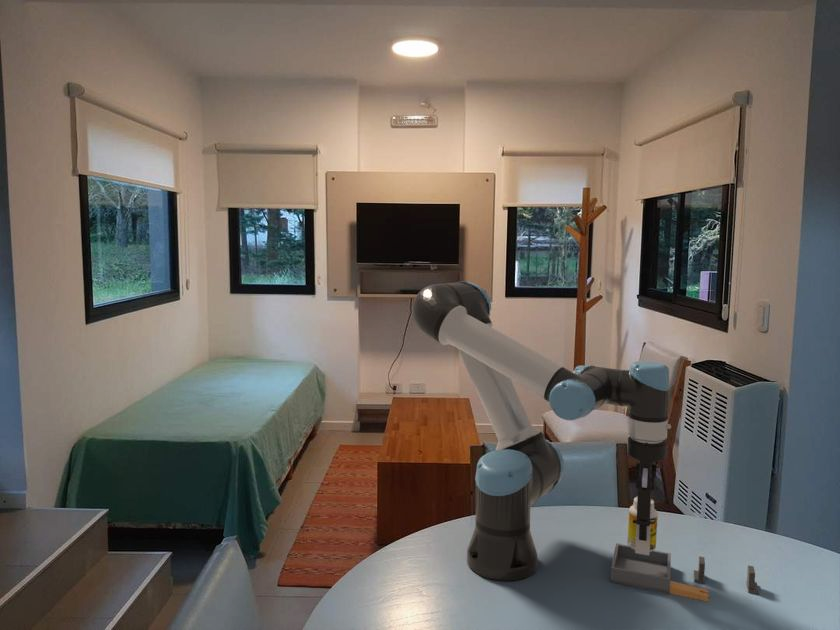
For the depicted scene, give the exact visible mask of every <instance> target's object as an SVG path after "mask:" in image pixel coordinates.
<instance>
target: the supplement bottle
mask: <svg viewBox="0 0 840 630" xmlns="http://www.w3.org/2000/svg"><path fill="white" fill-rule="evenodd" d="M637 497H638V496H636V497H635V496H634V498H633V504H632V505H631V506H630V507H629V508H628V509H629V510H628V511H629V512H628V527H627V530H628V531H627V544H628V546H630V547H631V548H632V549H634V550H635V543H636V523H633V520H636V519H637ZM652 499H653V498H652ZM652 499H651V509H650V521H651V528H650V552H651V551H653V550H655V549H656V547H657V546H656V545H657V530H658V529H657V528H658V517H659V516H658V510H657V509H656V508H655V509H654V505H655V500H654V499H653V500H652Z"/></svg>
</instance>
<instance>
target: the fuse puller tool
mask: <svg viewBox="0 0 840 630" xmlns="http://www.w3.org/2000/svg"><path fill="white" fill-rule="evenodd" d="M670 594H672V595H675V596H676V595H677V596H681V597H687V598H691V599H695V600H701V601H706V602H708V601H709V590H708V589H704V588H700V587H697V586H694V585H688V584H684V583H680V582H676V581H673V580H670Z"/></svg>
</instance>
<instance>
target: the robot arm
mask: <svg viewBox="0 0 840 630" xmlns="http://www.w3.org/2000/svg"><path fill="white" fill-rule="evenodd" d="M411 311H412V317H413V321H414V323H415V324H416V327H418V328H419V329H420V330H421V331H422V332H423V333H424V334H425V335H426V336H428V337H430V338H431V339H433V340H434V341H436V342H437V343H439V344H441V345H443V346H447V345H450V346H452V347H455V348H456V349H457V350H458V352H459V355H460V357H461V359H462V362H463V364H464V366H465V368H466V371H467V373H468V375H469V378H470V380H471V382H472V384H473V386H474V388H475V389H474V390H475V391H476V393H477V395H478V398H479V399H480V403H481V404H482V406H483V410H484V411H485V413H486V416H487V418H488V419H489V423H490V425H491V427H492V429H493V432H494V434H495V436H496V438H497V441H498V442H497V444H496V447H495V450H492V451H489V452H487V453H485V454H484V455H482V456H481V457H480V458H479V460H478V462H477V464H476V472H475V477H474V478H475V479H474V480H475V527H474V530H473V533H472V535H471V539H470V541H469V543H468V546H467V549H466V563H467V565H468V567H469V569H471V571H473V572H474V573H476V574H477V575H479V576H481V577H483V578H487V579H489V580H494V581H502V582H503V581H504V582H509V581H511V582H513V581H519V580H522V579H526V578H528V577H530V576H531V575H533V574H534V573H535V572H536V571H537V569H538V552H537V547H536V546H535V545H536V544H535V542H534V539H533V536H532V532H531V507H532V505H533V504H534V503H536V502H537V501H538V500H540V499H541V498H542V497H544V496H545V495H546V494H549V493H550V492H552V491H553V490H554V489H555V488H556V486H557V485H558V484H559V483H560V482H561V480H562V478H563V475H564V472H565V461H564V458H563V454H562V452H561V450H560V449H559V447H558V446H556V444H555V443H553V442H550V440H548V439H546V438H545V436H544V434H543V432H542V429H540V428H537V427H536V426H533V425H532V423H531V421H530V418H529V416H528V414H527V411H526V410H525V407H524V406H523V405H524V404H523V403H522V401H521V399H520V397H519V394H518V393H517V390H516V388H515V385H514V384H513V382H515V383H517V384H518V385H520V386H522V387H523V388H525V389H526V390H529V391H530V392H531V393H533V394H535V395H537V396H538V397H540V398H542V399H544V400H545V401H547V402H548V403H549V406H550V408H551V410H552V412H553V413H554V414H555V416H557V417H558V418H559V419H562V420H565V421H576V420H578V419H581V418H585V417H587V416H588V415H589V414H590V413H592V412H593V411H594V410H596V409H599V408H600V407H602V406H604V405H613V406H617V407H618V406H619V407H628V417H627V434H628V437H627V447H626V448H627V451H626V452H627V453H626V454H627V455H628V456H629V457H630V458H631V459H633V460H637V461H639V462H636V463H635V464H636V466H635V474H634V475H636V476H635V477H636V478H635V479H636V481H635V487H636V489H637V496H636V497H637V519H636V520H633V523H636V543H635V553H638V554H643V555H649V553H650V528H651V521H650V509H651V499H652V500H654V499H653V491H654V490H655V483H656V477H657V470H658V469H657V466H658V465H657V464H654V463H656V462H657V463H658V462H659V463H660V462H662V461H665V460H666V459H667V455H668V454H667V452H668V451H667V450H668V442H667V438H668V430H669V429H672V425H671V424H670V423H668V421H669V420H668V419H669V400H670V390H671V386H670V370H669V367H668V366H667V365H666V364H664V363H661V362H657V361H645V360H640V361H633V362H632V363H631V364H630V367H629V369H627V370H626V369H616V368H609V367H602V366H596V365H577V366H576V367H574V368H573V371H572V370H570V369H568V368H566V367H564V366H562V365H560V364H559V363H557V362H555V361H553V360H551V359H550V358H548V357H546V356H544V355H543V354H540V353H539V352H538V351H535V350H533V349H531V348H530V347H528V346H526V345H525V344H523V343H521V342H520V341H517V340H515V339H513V338H512V337H510V336H508V335H507V334H504V333H502V332H500V331H499V330H497V329H495V328H493V322H492V321H491V318H490V316H491V311H492V301H491V299H490V297H489V295H488V293H487V292H486V290H485V289H484V288H483V287H481V286H480V285H479V284H477V283H474V282H469V281H454V282H447V283H436V284H433V283H432V284H430V285H427V286H426V287H423V288H422V289H421V290H420V291H418V293H417V294H416V296H415V298H414V301H413V304H412V309H411ZM512 381H513V382H512ZM654 509H655V510H656V505H655V504H654Z"/></svg>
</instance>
